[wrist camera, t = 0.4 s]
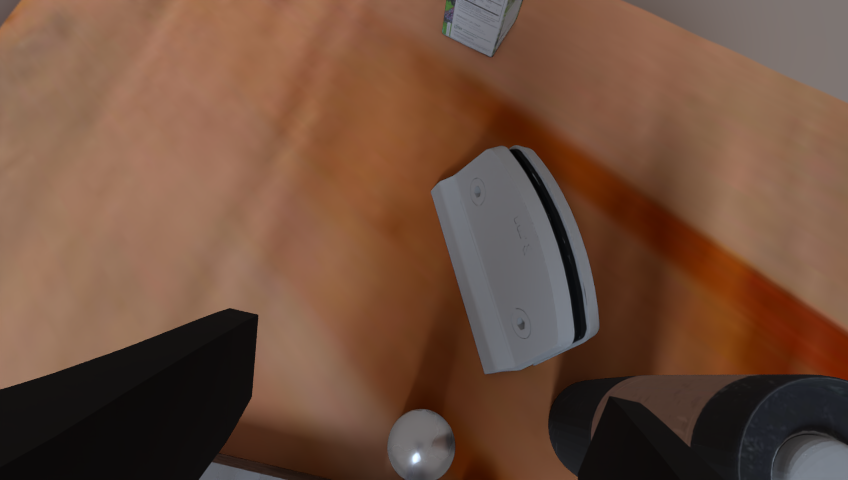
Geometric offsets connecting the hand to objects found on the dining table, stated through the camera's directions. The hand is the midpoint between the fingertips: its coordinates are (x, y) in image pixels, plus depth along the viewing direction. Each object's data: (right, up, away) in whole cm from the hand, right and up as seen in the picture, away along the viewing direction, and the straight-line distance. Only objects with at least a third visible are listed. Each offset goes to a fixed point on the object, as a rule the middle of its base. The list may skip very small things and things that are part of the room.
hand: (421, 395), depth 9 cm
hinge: (+6, +1, +28) cm, 29 cm away
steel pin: (0, -11, +24) cm, 26 cm away
